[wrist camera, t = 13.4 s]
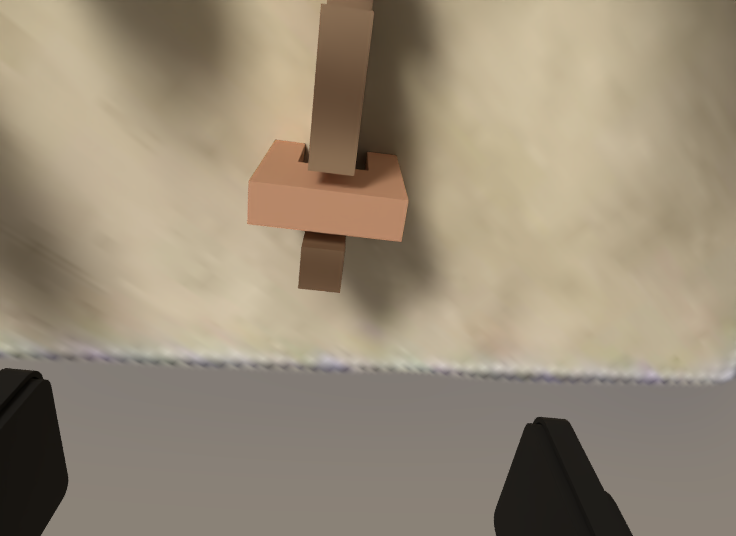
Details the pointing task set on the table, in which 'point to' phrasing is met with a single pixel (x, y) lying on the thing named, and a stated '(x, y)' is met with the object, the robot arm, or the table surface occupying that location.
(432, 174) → the table surface
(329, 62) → the walnut e-shaped block
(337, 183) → the slotted plate
